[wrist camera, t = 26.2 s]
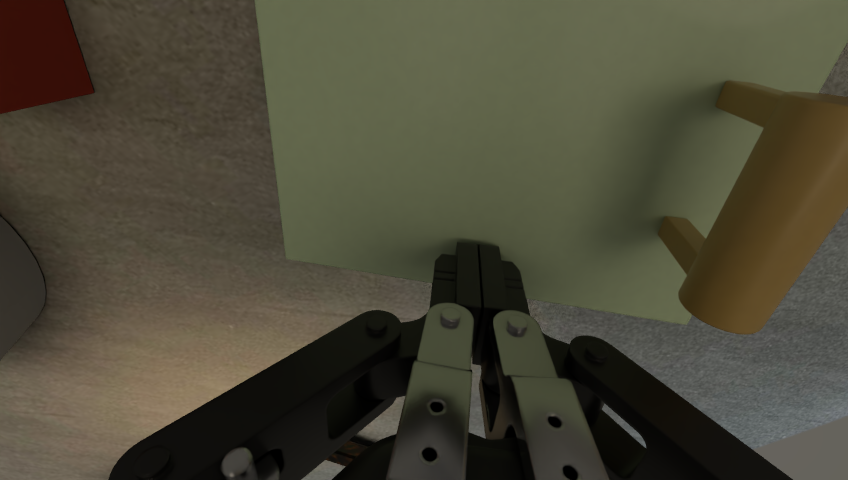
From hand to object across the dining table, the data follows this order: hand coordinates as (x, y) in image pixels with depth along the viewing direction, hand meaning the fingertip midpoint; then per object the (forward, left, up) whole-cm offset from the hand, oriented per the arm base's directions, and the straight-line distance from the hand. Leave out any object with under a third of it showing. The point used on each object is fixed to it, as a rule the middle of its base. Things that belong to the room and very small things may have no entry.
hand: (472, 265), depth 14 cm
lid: (-5, 0, -1) cm, 5 cm away
